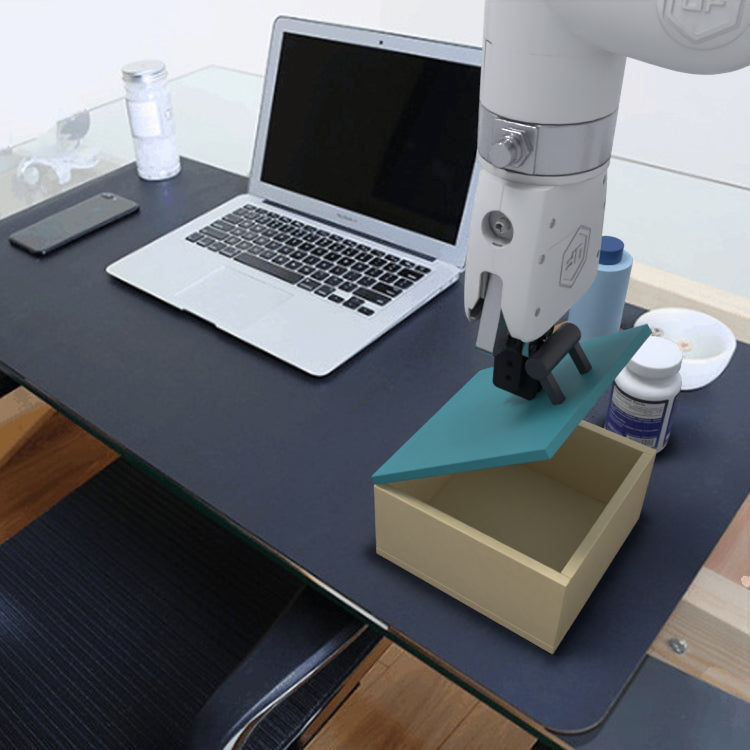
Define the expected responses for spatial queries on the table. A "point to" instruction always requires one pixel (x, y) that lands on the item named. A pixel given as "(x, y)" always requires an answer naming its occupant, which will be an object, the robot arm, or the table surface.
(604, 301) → the water bottle
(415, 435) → the teal box lid
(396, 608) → the table surface
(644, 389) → the pill bottle
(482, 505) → the tan wooden box
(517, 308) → the robot arm
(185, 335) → the table surface
